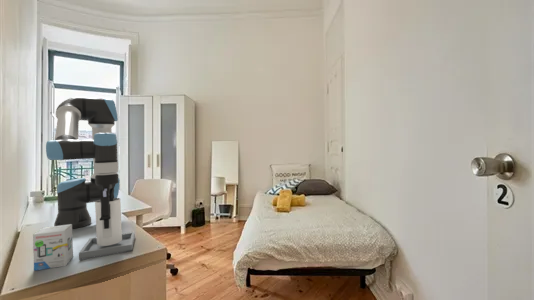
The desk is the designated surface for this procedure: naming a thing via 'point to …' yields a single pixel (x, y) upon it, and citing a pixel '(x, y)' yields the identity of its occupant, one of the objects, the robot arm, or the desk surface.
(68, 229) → the ink box
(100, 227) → the cup
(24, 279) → the desk surface
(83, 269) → the desk surface
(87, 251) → the tray
